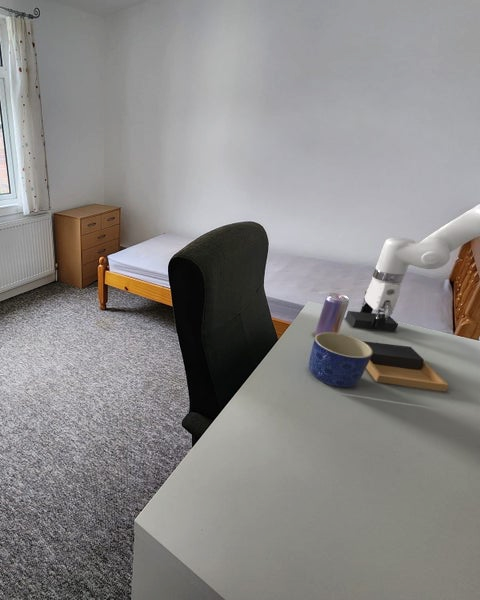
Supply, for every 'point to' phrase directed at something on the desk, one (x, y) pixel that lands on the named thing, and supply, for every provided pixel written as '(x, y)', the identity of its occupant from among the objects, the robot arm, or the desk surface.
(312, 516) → the desk surface
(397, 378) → the frame
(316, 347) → the planter
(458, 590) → the desk surface
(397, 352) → the pad
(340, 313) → the beverage can
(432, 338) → the desk surface
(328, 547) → the desk surface
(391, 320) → the loose pad
